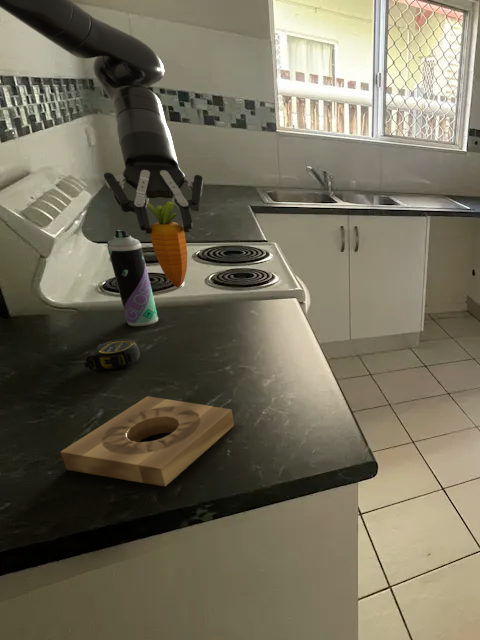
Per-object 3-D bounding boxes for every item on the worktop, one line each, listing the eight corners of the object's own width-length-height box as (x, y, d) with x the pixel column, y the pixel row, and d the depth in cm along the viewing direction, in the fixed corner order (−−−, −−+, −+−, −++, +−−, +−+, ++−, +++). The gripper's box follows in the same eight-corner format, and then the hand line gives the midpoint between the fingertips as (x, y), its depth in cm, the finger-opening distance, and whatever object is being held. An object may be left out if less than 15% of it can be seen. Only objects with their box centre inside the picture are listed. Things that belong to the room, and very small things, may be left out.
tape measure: (103, 356, 89) (98, 338, 87) (147, 354, 91) (142, 337, 89) (87, 374, 83) (81, 355, 81) (133, 372, 85) (128, 353, 83)
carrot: (154, 288, 83) (134, 200, 76) (181, 280, 87) (164, 197, 81) (174, 294, 81) (156, 205, 75) (201, 286, 85) (185, 201, 79)
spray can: (134, 328, 100) (110, 234, 92) (122, 320, 103) (98, 229, 94) (163, 321, 104) (142, 230, 96) (151, 314, 107) (130, 225, 98)
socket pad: (66, 470, 62) (59, 451, 61) (151, 412, 75) (147, 396, 74) (165, 487, 61) (160, 468, 60) (234, 425, 74) (231, 409, 73)
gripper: (89, 125, 74) (108, 219, 71) (195, 132, 83) (217, 216, 79) (97, 157, 80) (116, 244, 77) (196, 160, 89) (217, 240, 85)
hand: (167, 230), depth 78 cm, fingers closed on carrot, 4 cm apart
